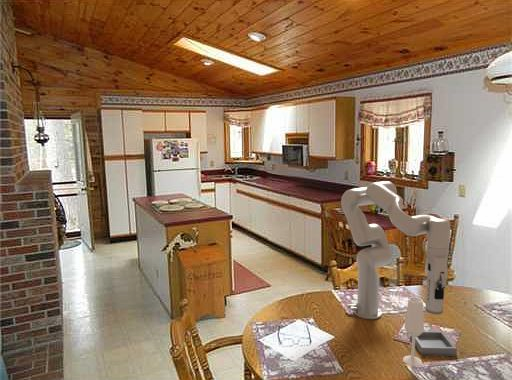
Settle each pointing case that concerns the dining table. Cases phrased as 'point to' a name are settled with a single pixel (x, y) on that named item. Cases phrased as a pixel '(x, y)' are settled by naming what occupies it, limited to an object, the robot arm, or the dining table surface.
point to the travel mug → (432, 296)
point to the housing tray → (434, 344)
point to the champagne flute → (414, 327)
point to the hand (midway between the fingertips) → (435, 294)
